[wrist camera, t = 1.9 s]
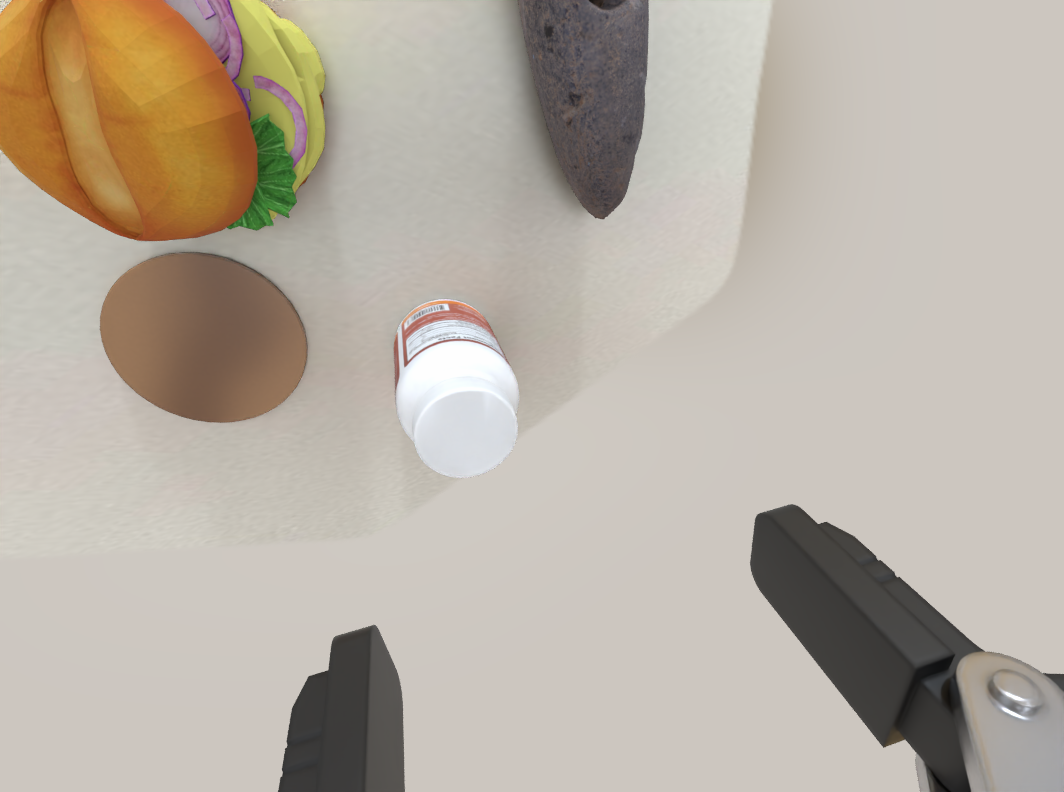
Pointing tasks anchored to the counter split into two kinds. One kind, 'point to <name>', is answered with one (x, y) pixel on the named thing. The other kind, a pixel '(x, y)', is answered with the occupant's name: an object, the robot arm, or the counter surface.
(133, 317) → the coaster
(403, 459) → the counter surface
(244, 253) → the counter surface
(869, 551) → the robot arm
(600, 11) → the perforated stone tool
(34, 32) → the cheeseburger
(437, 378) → the pill bottle
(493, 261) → the counter surface
